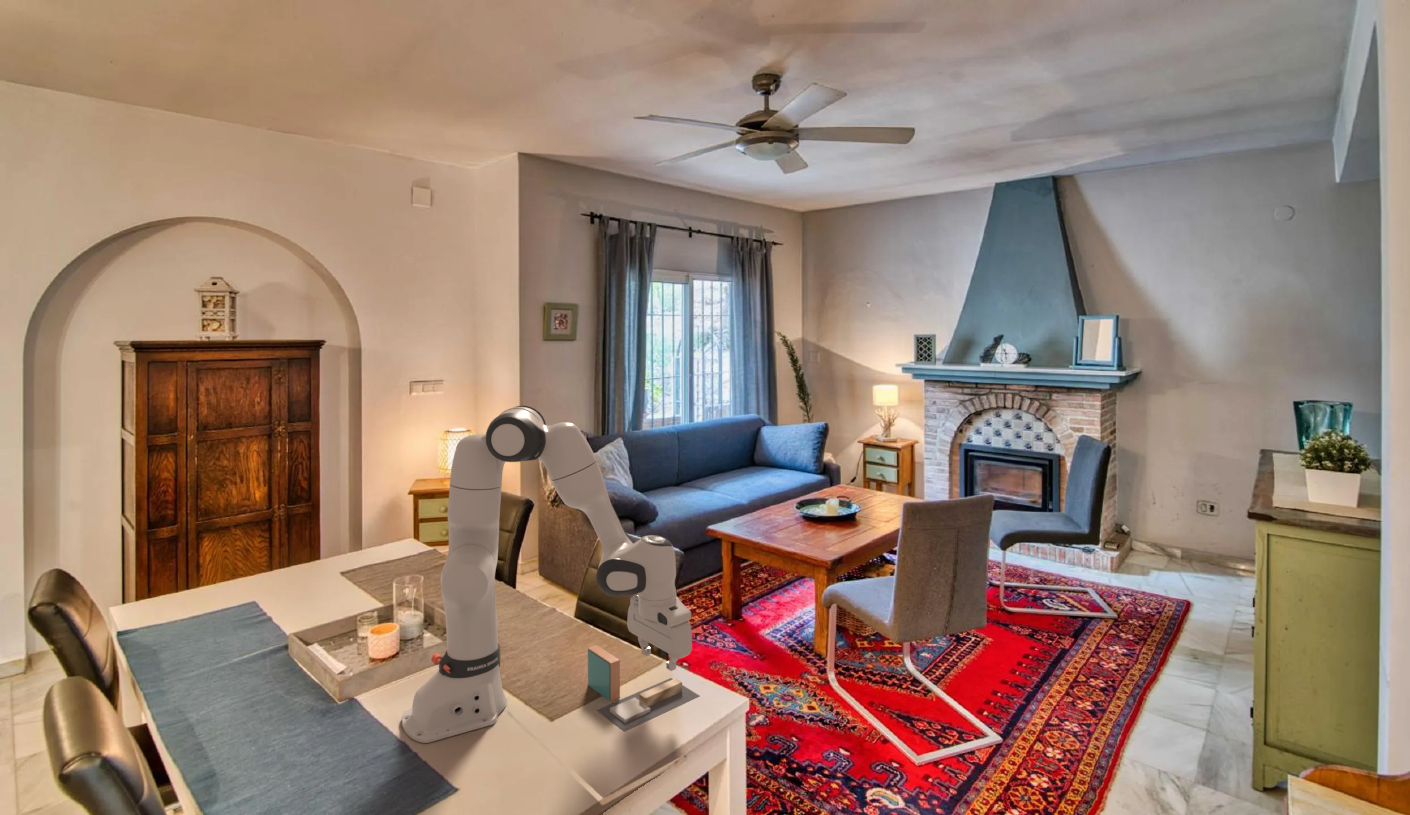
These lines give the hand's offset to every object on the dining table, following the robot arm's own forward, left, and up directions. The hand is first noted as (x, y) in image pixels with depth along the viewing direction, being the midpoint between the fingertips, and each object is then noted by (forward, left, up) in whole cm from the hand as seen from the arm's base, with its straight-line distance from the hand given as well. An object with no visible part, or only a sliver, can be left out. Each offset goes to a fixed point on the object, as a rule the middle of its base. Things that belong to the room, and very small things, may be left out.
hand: (658, 661), depth 159 cm
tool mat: (-2, 0, -10) cm, 10 cm away
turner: (-4, 0, -9) cm, 10 cm away
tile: (-7, +12, -10) cm, 17 cm away
